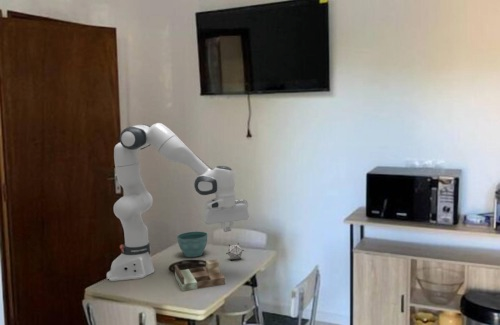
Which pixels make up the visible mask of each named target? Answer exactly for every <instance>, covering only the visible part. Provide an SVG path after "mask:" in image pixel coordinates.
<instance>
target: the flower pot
mask: <svg viewBox="0 0 500 325" xmlns="http://www.w3.org/2000/svg"><path fill="white" fill-rule="evenodd" d="M176 239H177V243H178V247H179V250H181V251H182V252H183V254H184V257H187V258H196V257H200V256H202V255H203V253H204V251H205V248H206V247H207V243H208V233H207V232H205V231H187V232H182V233H179V234H178V235H177V236H176Z"/></svg>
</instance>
